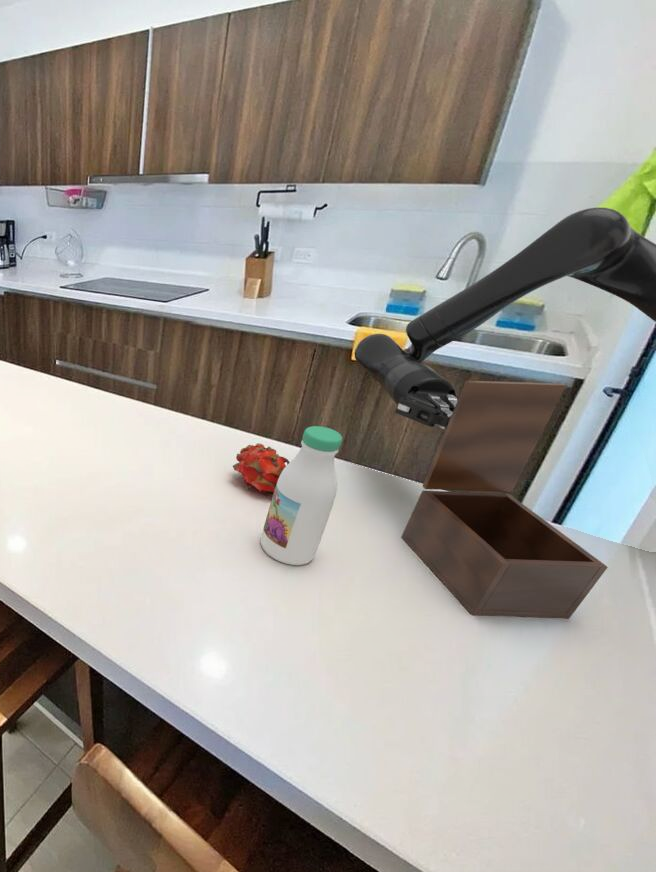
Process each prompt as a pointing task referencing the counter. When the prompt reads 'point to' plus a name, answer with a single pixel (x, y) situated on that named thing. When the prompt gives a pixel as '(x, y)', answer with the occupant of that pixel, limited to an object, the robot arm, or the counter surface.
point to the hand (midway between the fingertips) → (469, 434)
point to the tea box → (500, 555)
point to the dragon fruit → (260, 467)
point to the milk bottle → (303, 499)
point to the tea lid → (492, 435)
